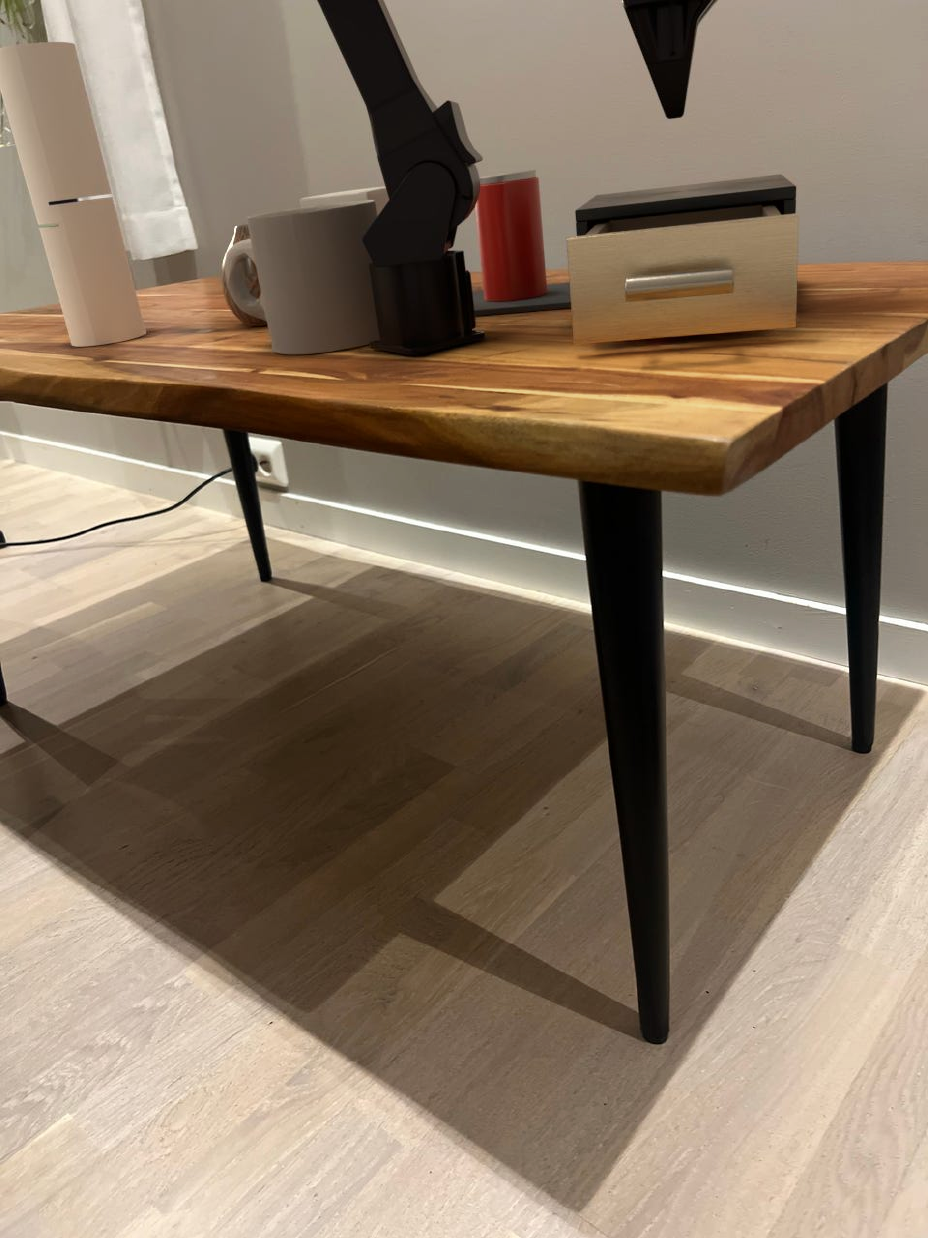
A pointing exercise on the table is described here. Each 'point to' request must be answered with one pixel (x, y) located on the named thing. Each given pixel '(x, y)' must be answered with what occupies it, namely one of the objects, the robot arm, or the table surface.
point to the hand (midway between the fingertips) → (675, 117)
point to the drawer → (684, 274)
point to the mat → (525, 302)
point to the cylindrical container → (70, 191)
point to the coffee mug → (309, 277)
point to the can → (511, 236)
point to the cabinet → (688, 199)
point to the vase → (250, 280)
